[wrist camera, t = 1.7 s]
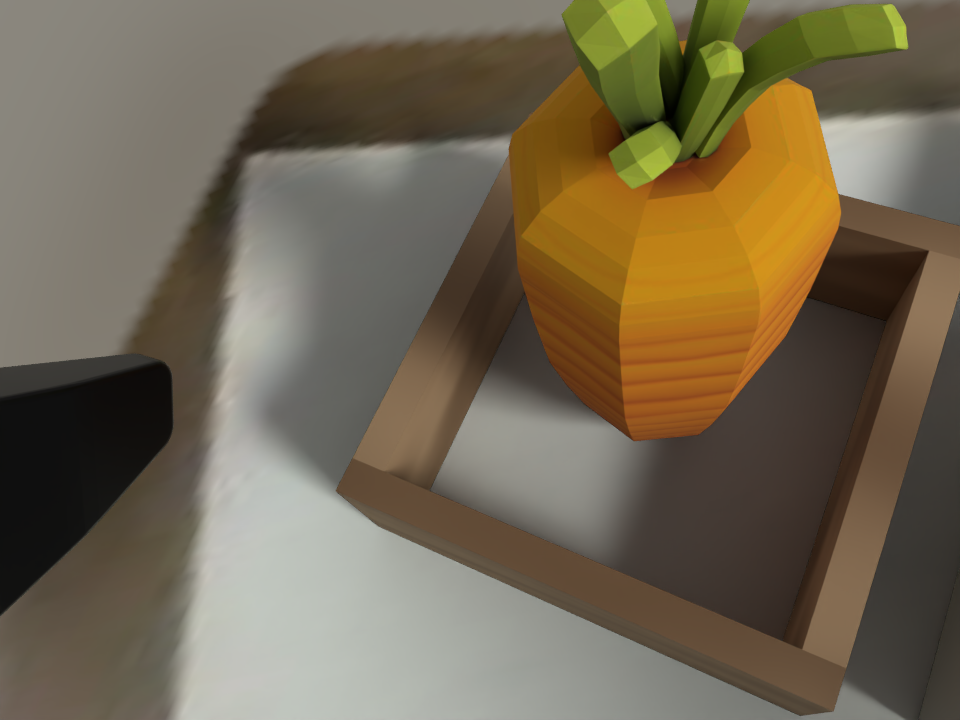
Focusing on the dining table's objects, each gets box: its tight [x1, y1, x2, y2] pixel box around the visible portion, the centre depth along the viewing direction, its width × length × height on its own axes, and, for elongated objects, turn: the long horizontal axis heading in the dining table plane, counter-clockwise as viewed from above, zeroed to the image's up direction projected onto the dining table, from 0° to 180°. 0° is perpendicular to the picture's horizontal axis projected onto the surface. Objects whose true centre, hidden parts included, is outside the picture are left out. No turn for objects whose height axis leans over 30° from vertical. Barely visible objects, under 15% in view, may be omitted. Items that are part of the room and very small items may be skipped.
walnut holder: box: [336, 113, 960, 716], centre depth 20 cm, size 11×11×4 cm
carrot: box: [509, 0, 908, 441], centre depth 15 cm, size 5×5×15 cm
